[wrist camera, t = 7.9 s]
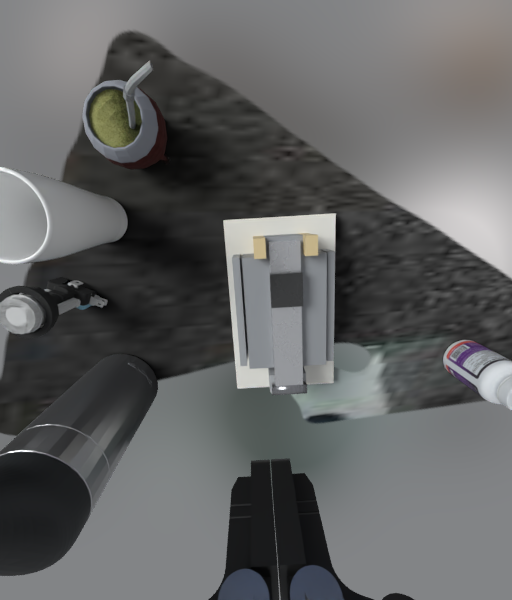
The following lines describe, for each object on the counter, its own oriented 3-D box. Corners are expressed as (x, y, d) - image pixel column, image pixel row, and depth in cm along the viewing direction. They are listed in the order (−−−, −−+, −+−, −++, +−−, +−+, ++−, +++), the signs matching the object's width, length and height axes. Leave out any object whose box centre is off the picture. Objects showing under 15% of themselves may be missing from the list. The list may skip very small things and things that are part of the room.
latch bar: (304, 388, 35) (307, 397, 33) (271, 390, 35) (272, 399, 33) (302, 239, 30) (305, 240, 29) (264, 242, 30) (265, 242, 29)
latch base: (330, 377, 40) (346, 409, 33) (238, 382, 40) (235, 415, 33) (332, 213, 35) (352, 211, 28) (224, 220, 35) (217, 219, 28)
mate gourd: (103, 146, 32) (-18, 84, 18) (143, 85, 31) (48, -37, 16) (157, 192, 34) (86, 168, 19) (198, 135, 32) (154, 64, 18)
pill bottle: (479, 371, 40) (548, 416, 31) (441, 376, 41) (498, 422, 31) (482, 335, 39) (555, 371, 30) (442, 341, 39) (502, 378, 30)
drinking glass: (143, 242, 35) (66, 255, 21) (90, 253, 35) (-22, 274, 21) (125, 184, 33) (28, 154, 19) (70, 196, 34) (-68, 176, 19)
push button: (113, 283, 36) (64, 305, 27) (104, 320, 38) (53, 354, 28) (61, 265, 36) (-10, 280, 26) (53, 303, 37) (-17, 332, 27)
